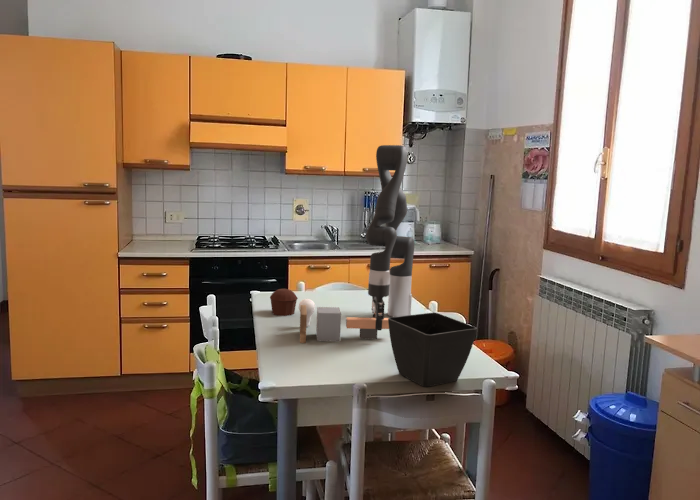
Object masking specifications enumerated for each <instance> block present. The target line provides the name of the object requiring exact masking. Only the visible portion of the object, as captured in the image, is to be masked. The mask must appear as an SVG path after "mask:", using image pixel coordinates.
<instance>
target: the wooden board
mask: <svg viewBox="0 0 700 500" xmlns="http://www.w3.org/2000/svg"><path fill="white" fill-rule="evenodd" d="M299 312H300V314H299V343H300V344H306V343H307V327H306V322H307V311H306V305H300V310H299Z"/></svg>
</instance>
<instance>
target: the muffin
mask: <svg viewBox="0 0 700 500" xmlns="http://www.w3.org/2000/svg"><path fill="white" fill-rule="evenodd" d="M269 298H270V304H271V313H272V314H273V315H275V316H281V317H282V316H283V317H287V316H293V315H294V314H295V310H296V307H297V301H298V297H297V295H296V294H295V292H294V291H293V290H291V289H288V288H278V289H276V290H274V291H273V292H272V293H271V295H270V297H269Z"/></svg>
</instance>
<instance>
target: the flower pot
mask: <svg viewBox="0 0 700 500" xmlns="http://www.w3.org/2000/svg"><path fill="white" fill-rule="evenodd" d="M387 318H388V323H389V329H388V332H389V338H390V343H391V344H390V345H391V349H392V354H393V358H394V362H395V364H396V368H397V372H398V374H399V375H401V376H403V377H405V378H407V379H408V380H410V381H413V382H414V383H416V384H418V385H420V386H422V387H425V388H428V387H434V386H439V385H443V384H448V383H454V382H457V381H458V380H459V378H460V376H461V373H462V372H463V370H464V368H465V366H466V363H467V361H468V358H469V356H470V353H471V351H472V348H473V345H474V342H475V338H476V335H477V331H478V327H476V326H474V325H470V324H468V323H465V322H463V321H461V320H458V319H456V318H452V317H449V316H447V315H443V314H441V313H437V312H427V313H425V312H424V313H418V314H416V313H415V314H411V315H408V316H399V317H391V316H390V317H387Z"/></svg>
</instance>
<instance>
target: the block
mask: <svg viewBox="0 0 700 500" xmlns="http://www.w3.org/2000/svg"><path fill="white" fill-rule="evenodd" d="M341 326H342V312H341V309H340V307H336V306H335V307H334V306H333V307H332V306H331V307H330V306H317V307H316V333H315V334H316V335H315V336H316V341H317V342H341V329H342V328H341Z"/></svg>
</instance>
